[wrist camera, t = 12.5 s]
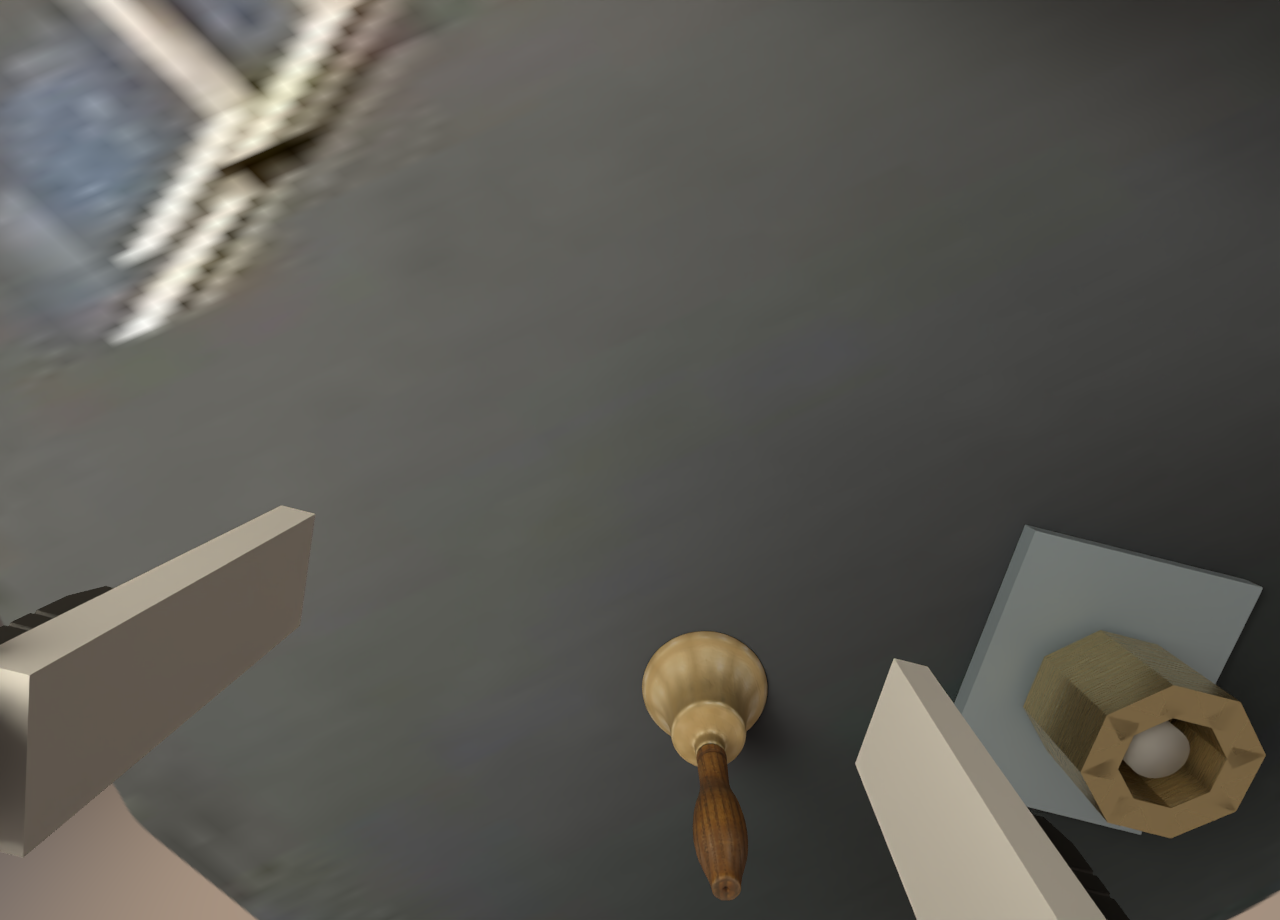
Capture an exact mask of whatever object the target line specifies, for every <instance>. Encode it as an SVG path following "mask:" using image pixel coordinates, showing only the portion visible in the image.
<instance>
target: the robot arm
mask: <svg viewBox="0 0 1280 920" xmlns="http://www.w3.org/2000/svg"><path fill="white" fill-rule="evenodd" d="M314 519H315V514H313V513H309V512H305V511H301V510H297V509H293V508H289V507H285V506H279V507H277V508H275V509H273V510H271V511H269V512H267V513H265V514H263V515H261V516H259V517H257V518H255V519H253V520H251V521H249V522H247V523H245V524H243V525H241V526H239V527H237V528H235V529H233V530H231V531H229V532H227V533H225V534H223V535H221V536H219V537H217V538H215V539H213V540H211V541H209V542H207V543H205V544H203V545H201V546H199V547H197V548H195V549H193V550H190V551H188V552H186V553H184V554H182V555H180V556H178V557H176V558H174V559H172V560H170V561H168V562H166V563H164V564H162V565H160V566H158V567H156V568H154V569H152V570H150V571H148V572H146V573H144V574H142V575H140V576H138V577H136V578H134V579H132V580H130V581H128V582H126V583H124V584H122V585H120V586H118V587H116V588H111V587H107V586H104V587H100V588H96V589H92V590H88V591H84V592H80V593H76V594H72V595H68V596H66V597H64V598H62V599H59V600H57V601H55V602H53V603H51V604H49V605H47V606H45V607H42V608H40V609H38V610H36V613H35V614H32V613H30V614H27V615H25V616H23V617H21V618H19V619H17V620H15V621H13V622H11V623H10V625H9V626H2V627H0V852H3V853H7V854H11V855H15V856H19V857H24V856H26V855H27V854H28V853H29V852H30V851H32V850H33V849H34V848H35V847H36V846H38V845H39V844H40V843H41V842H42V841H44V840H45V839H46V838H47V837H48V836H50V835H51V834H52V833H53V832H54V831H55V830H57V829H58V828H59V827H60V826H61V825H62V824H64V823H65V822H66V821H67V820H69V819H70V818H71V817H72V816H73V815H75V814H76V813H77V812H78V811H79V810H80V809H82V808H83V807H84V806H85V805H87V804H88V803H89V802H90V801H91V800H92V799H94V798H95V797H96V796H97V795H98V794H100V793H101V792H102V791H103V790H104V789H106V788H107V787H108V786H109V785H110V784H112V783H113V782H114V781H115V780H116V779H118V778H119V777H120V776H121V775H122V774H123V773H125V772H126V771H127V770H128V769H129V768H131V767H132V766H133V765H134V764H135V763H137V762H138V761H139V760H140V759H141V758H143V757H144V756H145V755H146V754H147V753H149V752H150V751H151V750H152V749H153V748H154V747H156V746H157V745H158V744H159V743H160V742H162V741H163V740H164V739H165V738H166V737H168V736H169V735H170V734H171V733H172V732H174V731H175V730H176V729H177V728H178V727H180V726H181V725H182V724H183V723H184V722H185V721H187V720H188V719H189V718H190V717H191V716H193V715H194V714H195V713H196V712H197V711H199V710H200V709H201V708H202V707H203V706H205V705H206V704H207V703H208V702H209V701H211V700H212V699H213V698H214V697H215V696H216V695H218V694H219V693H220V692H221V691H222V690H224V689H225V688H226V687H227V686H228V685H230V684H231V683H232V682H233V681H234V680H236V679H237V678H238V677H239V676H240V675H242V674H243V673H244V672H245V671H246V670H247V669H249V668H250V667H251V666H252V665H253V664H255V663H256V662H257V661H258V660H259V659H261V658H262V657H263V656H264V655H265V654H267V653H268V652H269V651H270V650H271V649H273V648H274V647H275V646H276V645H277V644H278V643H280V642H281V641H282V640H283V639H284V638H286V637H287V636H288V635H289V634H290V633H292V632H293V631H294V630H295V629H296V628H298V627H299V626H300V622H301V614H302V607H303V600H304V592H305V585H306V578H307V570H308V563H309V556H310V548H311V541H312V534H313V526H314ZM855 764H856V767H857V770H858V772H859V775H860V777H861V780H862V782H863V785H864V787H865V790H866V792H867V795H868V797H869V800H870V802H871V805H872V807H873V810H874V812H875V815H876V818H877V820H878V823H879V825H880V828H881V830H882V833H883V835H884V838H885V840H886V843H887V845H888V848H889V850H890V853H891V855H892V858H893V860H894V863H895V866H896V868H897V871H898V873H899V876H900V878H901V881H902V883H903V886H904V888H905V891H906V893H907V896H908V898H909V901H910V903H911V906H912V908H913V911H914V914H915V916H916V919H917V920H1129V918H1128V917H1127V916H1126V914H1125V913H1124V912H1123V910H1122V909H1121V908H1120V906H1119V905H1118V904H1117V902H1116V901H1115V900H1114V899H1112V898H1110V896H1109V894H1110V893H1109V892H1108V890H1107V889H1106V888H1105V886H1104V885H1103V884H1102V882H1101V881H1100V880H1099V878H1098V877H1097V876H1095V875H1093V870H1092V869H1091V867H1090V866H1089V865H1088V863H1087V862H1086V861H1085V859H1084V858H1083V857H1082V855H1081V854H1080V853H1079V851H1078V850H1077V849H1076V847H1075V846H1074V845H1073V843H1072V842H1070V841H1069V840H1068V839H1067V838H1066V837H1065V836H1064V835H1063V834H1062V833H1061V832H1059V831H1058V830H1057V829H1056V828H1055V827H1054V826H1053V825H1052V824H1051V823H1049V822H1048V821H1047V820H1046V819H1045V818H1044V817H1040V816H1036V815H1032V814H1031V812H1030V811H1029V809H1028V808H1027V807H1026V805H1025V804H1024V802H1023V801H1022V799H1021V798H1020V797H1019V795H1018V794H1017V792H1016V791H1015V790H1014V788H1013V787H1012V785H1011V784H1010V783H1009V781H1008V780H1007V778H1006V777H1005V775H1004V774H1003V773H1002V771H1001V770H1000V768H999V767H998V766H997V764H996V763H995V761H994V760H993V758H992V757H991V756H990V754H989V753H988V751H987V750H986V749H985V747H984V746H983V744H982V743H981V741H980V740H979V739H978V737H977V736H976V734H975V733H974V732H973V730H972V729H971V727H970V726H969V725H968V723H967V722H966V720H965V719H964V717H963V716H962V715H961V713H960V712H959V710H958V709H957V708H956V706H955V705H954V703H953V702H952V700H951V699H950V698H949V696H948V695H947V693H946V692H945V691H944V689H943V688H942V686H941V685H940V683H939V682H938V681H937V679H936V678H935V676H934V675H933V674H932V672H931V671H930V669H929V668H928V667H927V666H923V665H919V664H915V663H911V662H907V661H903V660H899V659H895V658H894V659H893V662H892V665H891V668H890V670H889V673H888V676H887V678H886V681H885V684H884V687H883V689H882V692H881V695H880V697H879V700H878V703H877V706H876V708H875V711H874V714H873V716H872V719H871V722H870V725H869V727H868V730H867V733H866V736H865V738H864V741H863V744H862V746H861V749H860V752H859V755H858V757H857V760H856V763H855Z"/></svg>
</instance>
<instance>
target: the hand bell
mask: <svg viewBox="0 0 1280 920" xmlns="http://www.w3.org/2000/svg"><path fill="white" fill-rule="evenodd" d="M767 688H768V686H767V679H766V675H765V671H764V668H763V666H762V664H761V663H760V661H759V659H758V657H757V656H756V655H755V653H754V652H752V651H751V650H750V649H749V648H748V647H747V646H746V645H745V644H743V643H742V642H740V641H739V640H737V639H735V638H733V637H731V636H729V635H725V634H722V633H717V632H710V631H698V632H692V633H687V634H684V635H681V636H678V637H676V638H674V639H672V640H670V641H669V642H667V643H666V644H664V645H663V646H662V647H660V648H659V649H658V650H657V652H656V653H655V654H654V655H653V656H652V658H651V660H650V661H649V663H648V665H647V667H646V670H645V672H644V676H643V683H642V692H643V698H644V702H645V705H646V708H647V710H648V712H649V714H650V716H651V717H652V719H653V720H654V721H655V722H656V724H657V725H658V726H659V727H660V728H661V729H662V730H664V731H665V732H666V733H667V734H669V735H670V736H671V738H672V742H673V745H674V747H675V749H676V751H677V752H678V754H679V755H680V756H681V757H682V758H683V759H684V760H686V761H687V762H689V763H691V764H693V765H695V766H698V772H699V779H700V792H699V796H698V798H697V801H696V805H695V809H694V817H693V838H694V845H695V849H696V853H697V857H698V859H699V862H700V864H701V866H702V868H703V871H704V873H705V874H706V876H707V878H708V880H709V883H710V885H711V889H712V892H713V894H714V895H715V897H717V898H719V899H720V900H732V899H734V898H735V897H737V896H738V895H739V893H740V891H741V881H742V875H743V872H744V868H745V864H746V860H747V854H748V837H747V829H746V823H745V819H744V816H743V813H742V810H741V807H740V805H739V802H738V800H737V798H736V797H735V795H734V793H733V792H732V790H731V788H730V786H729V780H728V768H727V764H728V763H729V762H731V761H732V760H734V759H735V758H736V757H737V756H738V755H739V753H740V752H741V750H742V749H743V746H744V743H745V740H746V731H748V730H749V729H750V728H751V727H752V726H753V725H754V723H755V722H756V721H757V720H758V718H759V717H760V715H761V713H762V711H763V709H764V706H765V703H766V699H767Z"/></svg>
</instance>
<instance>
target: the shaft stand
mask: <svg viewBox="0 0 1280 920" xmlns="http://www.w3.org/2000/svg"><path fill="white" fill-rule="evenodd" d="M1262 589H1263V587H1261V586H1259V585H1257V584H1254V583H1252V582H1250V581H1248V580H1246V579H1242V578H1238V577H1234V576H1229V575H1225V574H1221V573H1217V572H1213V571H1209V570H1205V569H1201V568H1197V567H1193V566H1189V565H1185V564H1181V563H1177V562H1173V561H1169V560H1165V559H1161V558H1157V557H1153V556H1149V555H1145V554H1141V553H1137V552H1133V551H1129V550H1125V549H1121V548H1117V547H1113V546H1109V545H1105V544H1101V543H1097V542H1093V541H1089V540H1085V539H1081V538H1077V537H1073V536H1069V535H1065V534H1061V533H1057V532H1053V531H1049V530H1045V529H1041V528H1037V527H1033V526H1029V525H1025V526H1024V529H1023V531H1022V534H1021V536H1020V539H1019V542H1018V544H1017V547H1016V549H1015V552H1014V554H1013V557H1012V559H1011V562H1010V564H1009V567H1008V569H1007V572H1006V574H1005V577H1004V579H1003V582H1002V584H1001V587H1000V589H999V592H998V594H997V597H996V599H995V602H994V604H993V607H992V609H991V612H990V614H989V617H988V619H987V622H986V624H985V627H984V630H983V632H982V635H981V637H980V640H979V642H978V645H977V647H976V650H975V652H974V655H973V657H972V660H971V662H970V665H969V667H968V670H967V672H966V675H965V677H964V680H963V682H962V685H961V687H960V690H959V692H958V695H957V697H956V700H955V702H954V705H955V706H956V708H957V709H958V710H959V712H960V713H961V715H962V716H963V717H964V719H965V720H966V722H967V723H968V725H969V726H970V727H971V729H972V730H973V732H974V733H975V734H976V736H977V737H978V739H979V740H980V741H981V743H982V744H983V746H984V747H985V749H986V750H987V751H988V753H989V754H990V756H991V757H992V758H993V760H994V761H995V763H996V764H997V766H998V767H999V768H1000V770H1001V771H1002V773H1003V774H1004V775H1005V777H1006V778H1007V780H1008V781H1009V783H1010V784H1011V785H1012V787H1013V788H1014V790H1015V791H1016V792H1017V794H1018V795H1019V797H1020V798H1021V799H1022V801H1023V802H1024V804H1025V805H1026V807H1030V808H1034V809H1038V810H1042V811H1046V812H1050V813H1054V814H1058V815H1062V816H1066V817H1071V818H1075V819H1079V820H1083V821H1087V822H1091V823H1095V824H1099V825H1103V826H1107V827H1111V828H1115V829H1119V830H1123V831H1127V832H1131V833H1135V834H1139V835H1141V833H1142V831H1139V830H1135V829H1131V828H1127V827H1123V826H1119V825H1115V824H1111V823H1107V821H1106V820H1105V819H1104V818H1103V817H1102V816H1101V814H1100V813H1099V812H1098V811H1097V810H1096V808H1095V807H1094V806H1093V805H1092V804H1091V802H1090V801H1089V800H1088V799H1087V798H1086V797H1085V795H1084V794H1083V793H1082V792H1081V791H1080V789H1079V788H1078V787H1077V786H1076V785H1075V783H1074V782H1073V781H1072V780H1071V779H1070V778H1069V776H1068V775H1067V774H1066V773H1065V772H1064V770H1063V769H1062V768H1061V767H1060V766H1059V764H1058V763H1057V762H1056V761H1055V760H1054V759H1053V757H1052V756H1051V755H1050V754H1049V753H1048V751H1047V750H1046V748H1045V746H1044V745H1043V743H1042V741H1041V739H1040V737H1039V735H1038V734H1037V732H1036V730H1035V728H1034V726H1033V724H1032V722H1031V721H1030V719H1029V717H1028V715H1027V713H1026V711H1025V710H1024V708H1023V705H1024V703H1025V700H1026V698H1027V696H1028V693H1029V691H1030V689H1031V686H1032V684H1033V682H1034V679H1035V677H1036V675H1037V672H1038V670H1039V668H1040V665H1041V663H1042V661H1043V658H1044V656H1046V655H1049V654H1051V653H1053V652H1055V651H1057V650H1059V649H1061V648H1063V647H1065V646H1068V645H1070V644H1072V643H1074V642H1076V641H1078V640H1080V639H1082V638H1084V637H1087V636H1089V635H1091V634H1093V633H1095V632H1097V631H1099V630H1102V631H1106V632H1110V633H1114V634H1118V635H1122V636H1126V637H1130V638H1134V639H1138V640H1142V641H1146V642H1150V643H1154V644H1158V645H1159V646H1161V647H1162V648H1163V649H1165V650H1166V651H1168V652H1169V653H1171V654H1172V655H1174V656H1175V657H1176V658H1178V659H1179V660H1181V661H1182V662H1184V663H1185V664H1187V665H1188V666H1189V667H1191V668H1192V669H1194V670H1195V671H1197V672H1198V673H1199V674H1201V675H1202V676H1204V677H1205V678H1207V679H1208V680H1210V681H1211V682H1212V683H1214V684H1216V682H1217V680H1218V678H1219V676H1220V674H1221V672H1222V670H1223V668H1224V666H1225V664H1226V662H1227V660H1228V658H1229V656H1230V654H1231V652H1232V650H1233V648H1234V646H1235V644H1236V642H1237V640H1238V638H1239V636H1240V634H1241V632H1242V630H1243V628H1244V626H1245V624H1246V622H1247V619H1248V617H1249V615H1250V613H1251V611H1252V609H1253V607H1254V605H1255V603H1256V601H1257V599H1258V597H1259V595H1260V593H1261V591H1262ZM1189 753H1190V745H1189V742H1188V739H1187V738H1186V736H1185V735H1184V734H1183V733H1182V732H1181V731H1180V730H1178V729H1177V728H1176V727H1175V726H1174V725H1172V724H1171V723H1170V722H1169V721H1165V722H1163V723H1161V724H1159V725H1156V726H1154V727H1152V728H1150V729H1147V730H1145V731H1143V732H1141V733H1138V734H1136V735H1134V736H1133V739H1132V741H1131V743H1130V745H1129V747H1128V749H1127V751H1126V753H1125V755H1124V757H1123V760H1124V761H1125V762H1126V763H1127V764H1128V765H1129V766H1130V767H1131V768H1132V769H1133V770H1134V771H1135V772H1136V773H1138V774H1139V775H1141V776H1144V777H1147V778H1162V777H1166V776H1169V775H1171V774H1173V773H1175V772H1176V771H1178V770H1179V769H1180V768H1181V767H1182V766H1183V765H1184V764H1185V762H1186V761H1187V759H1188V756H1189Z"/></svg>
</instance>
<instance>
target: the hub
mask: <svg viewBox="0 0 1280 920" xmlns="http://www.w3.org/2000/svg"><path fill="white" fill-rule="evenodd" d="M1023 708H1024V710H1025V711H1026V713H1027V715H1028V717H1029V719H1030V721H1031V722H1032V724H1033V726H1034V728H1035V730H1036V732H1037V734H1038V735H1039V737H1040V739H1041V741H1042V743H1043V745H1044V746H1045V748H1046V750H1047V751H1048V753H1049V754H1050V755H1051V756H1052V757H1053V759H1054V760H1055V761H1056V762H1057V763H1058V764H1059V766H1060V767H1061V768H1062V769H1063V770H1064V772H1065V773H1066V774H1067V775H1068V776H1069V778H1070V779H1071V780H1072V781H1073V782H1074V783H1075V785H1076V786H1077V787H1078V788H1079V789H1080V791H1081V792H1082V793H1083V794H1084V795H1085V797H1086V798H1087V799H1088V800H1089V801H1090V802H1091V804H1092V805H1093V806H1094V807H1095V808H1096V810H1097V811H1098V812H1099V813H1100V814H1101V816H1102V817H1103V818H1104V819H1105V820H1106V821H1107V823H1111V824H1115V825H1119V826H1123V827H1127V828H1131V829H1135V830H1139V831H1143V832H1147V833H1151V834H1155V835H1159V836H1163V837H1167V838H1173V837H1175V836H1178V835H1180V834H1183V833H1185V832H1187V831H1190V830H1192V829H1195V828H1197V827H1199V826H1202V825H1204V824H1207V823H1209V822H1212V821H1214V820H1216V819H1219V818H1221V817H1224V816H1226V815H1228V814H1231V813H1233V812H1236V810H1237V808H1238V807H1239V805H1240V803H1241V801H1242V799H1243V797H1244V795H1245V793H1246V792H1247V790H1248V788H1249V786H1250V784H1251V782H1252V780H1253V778H1254V777H1255V775H1256V773H1257V771H1258V769H1259V767H1260V765H1261V763H1262V762H1263V760H1264V758H1265V756H1266V754H1265V752H1264V750H1263V748H1262V746H1261V744H1260V742H1259V740H1258V738H1257V735H1256V733H1255V731H1254V729H1253V727H1252V725H1251V723H1250V721H1249V719H1248V717H1247V714H1246V712H1245V710H1244V708H1243V706H1242V704H1241V702H1240V701H1238V700H1237V699H1236V698H1234V697H1233V696H1231V695H1230V694H1228V693H1227V692H1225V691H1224V690H1223V689H1221V688H1220V687H1218V686H1217V685H1215V684H1214V683H1212V682H1211V681H1210V680H1208V679H1207V678H1205V677H1204V676H1202V675H1201V674H1199V673H1198V672H1197V671H1195V670H1194V669H1192V668H1191V667H1189V666H1188V665H1187V664H1185V663H1184V662H1182V661H1181V660H1179V659H1178V658H1176V657H1175V656H1174V655H1172V654H1171V653H1169V652H1168V651H1166V650H1165V649H1163V648H1162V647H1161V646H1159V645H1158V644H1154V643H1150V642H1146V641H1142V640H1138V639H1134V638H1130V637H1126V636H1122V635H1118V634H1114V633H1110V632H1106V631H1102V630H1099V631H1097V632H1095V633H1093V634H1091V635H1089V636H1087V637H1084V638H1082V639H1080V640H1078V641H1076V642H1074V643H1072V644H1070V645H1068V646H1065V647H1063V648H1061V649H1059V650H1057V651H1055V652H1053V653H1051V654H1049V655H1046V656H1044V658H1043V661H1042V663H1041V665H1040V668H1039V670H1038V672H1037V675H1036V677H1035V679H1034V682H1033V684H1032V686H1031V689H1030V691H1029V693H1028V696H1027V698H1026V700H1025V703H1024V705H1023ZM1165 721H1169V722H1170V723H1171V724H1172V725H1174V726H1175V727H1176V728H1177V729H1178V730H1180V731H1181V732H1182V733H1183V734H1184V735H1185V736H1186V738H1187V739H1188V742H1189V745H1190V753H1189V756H1188V759H1187V761H1186V762H1185V764H1184V765H1183V766H1182V767H1181V768H1180V769H1179V770H1178V771H1176V772H1175V773H1173V774H1171V775H1169V776H1166V777H1162V778H1147V777H1144V776H1141V775H1139V774H1138V773H1136V772H1135V771H1134V770H1133V769H1132V768H1131V767H1130V766H1129V765H1128V764H1127V763H1126V762H1125V761H1124V760H1123V757H1124V755H1125V753H1126V751H1127V749H1128V747H1129V745H1130V743H1131V741H1132V739H1133V736H1134V735H1136V734H1138V733H1141V732H1143V731H1145V730H1147V729H1150V728H1152V727H1154V726H1156V725H1159V724H1161V723H1163V722H1165Z"/></svg>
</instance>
